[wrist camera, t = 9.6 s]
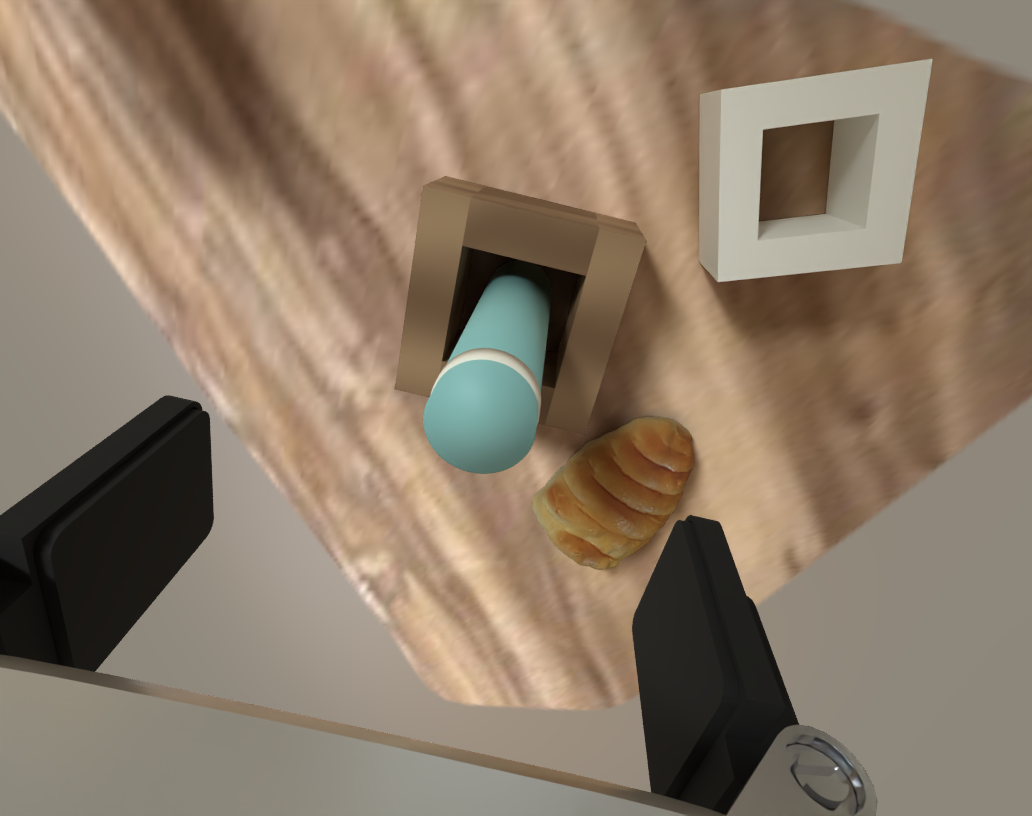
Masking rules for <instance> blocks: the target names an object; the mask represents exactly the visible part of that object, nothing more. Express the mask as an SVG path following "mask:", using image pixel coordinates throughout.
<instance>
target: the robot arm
mask: <svg viewBox="0 0 1032 816" xmlns="http://www.w3.org/2000/svg"><path fill="white" fill-rule="evenodd" d="M213 520H214V514H213V488H212V462H211V437H210V417H209V414H208V413H207V412H206V411H202V407H201V405H200V403H198V402H196V401H191V400H187V399H183V398H178V397H174V396H164V397H162V398H160V399H159V400H158V401H156V402H155V403H154V404H152V405H151V406H149V407H148V408H147V409H145V410H144V411H143V412H141V413H140V414H139V415H137V416H136V417H134V418H133V419H132V420H130V421H129V422H128V423H126V424H125V425H123V426H122V427H121V428H119V429H118V430H117V431H115V432H114V433H112V434H111V435H110V436H108V437H107V438H106V439H104V440H103V441H102V442H100V443H99V444H97V445H96V446H95V447H93V448H92V449H91V450H89V451H88V452H86V453H85V454H84V455H82V456H81V457H80V458H78V459H77V460H75V461H74V462H73V463H72V464H70V465H69V466H67V467H66V468H65V469H63V470H62V471H60V472H59V473H58V474H56V475H55V476H54V477H52V478H51V479H49V480H48V481H47V482H45V483H44V484H43V485H41V486H40V487H39V488H37V489H36V490H34V491H33V492H32V493H30V494H29V495H28V496H26V497H25V498H23V499H22V500H21V501H19V502H18V503H17V504H15V505H14V506H13V507H11V508H10V509H8V510H7V511H6V512H4V513H3V514H2V515H0V816H876V809H877V798H876V794H875V790H874V786H873V784H872V782H871V780H870V778H869V777H868V774H867V773H866V770H864V768H863V767H862V765H861V764H860V763H859V762H858V760H857V759H856V757H855V756H854V755H853V754H852V753H851V752H850V751H849V750H847V748H845V747H844V746H843V745H842V744H841V743H840V742H839V741H837V740H836V739H834V738H833V737H831V736H830V735H828V734H826V733H825V732H823V731H820V730H818V729H815V728H813V727H810V726H803V725H799V723H798V720H797V718H796V715H795V712H794V709H793V707H792V704H791V701H790V699H789V696H788V693H787V691H786V688H785V685H784V682H783V680H782V677H781V674H780V671H779V669H778V666H777V663H776V660H775V658H774V655H773V653H772V650H771V647H770V644H769V641H768V639H767V636H766V633H765V630H764V628H763V625H762V622H761V620H760V617H759V614H758V611H757V609H756V606H755V604H754V602H753V601H752V600H751V599H750V598H749V597H748V596H746V594H745V591H744V588H743V585H742V582H741V580H740V577H739V574H738V571H737V568H736V566H735V563H734V560H733V557H732V554H731V552H730V549H729V546H728V543H727V540H726V537H725V535H724V532H723V529H722V526H721V524H720V523H719V522H718V521H714V520H710V519H705V518H701V517H697V516H692V515H690V516H688V517H687V518H686V520H685V521H681V520H678V521H677V522H676V523H675V525H674V527H673V529H672V532H671V534H670V536H669V538H668V540H667V543H666V545H665V547H664V549H663V552H662V554H661V556H660V558H659V560H658V563H657V565H656V567H655V569H654V572H653V574H652V576H651V578H650V580H649V583H648V585H647V587H646V589H645V592H644V594H643V596H642V598H641V600H640V603H639V605H638V607H637V609H636V612H635V614H634V618H633V625H632V633H633V641H634V650H635V658H636V667H637V675H638V684H639V692H640V701H641V709H642V717H643V726H644V735H645V743H646V752H647V759H648V769H649V777H650V786H651V793H650V792H646V791H642V790H638V789H634V788H629V787H625V786H621V785H617V784H613V783H609V782H604V781H600V780H596V779H592V778H588V777H583V776H579V775H575V774H571V773H566V772H562V771H557V770H552V769H548V768H543V767H539V766H534V765H530V764H525V763H521V762H516V761H512V760H507V759H503V758H498V757H494V756H489V755H484V754H480V753H475V752H471V751H466V750H462V749H457V748H453V747H448V746H444V745H439V744H435V743H430V742H425V741H421V740H416V739H411V738H407V737H402V736H398V735H392V734H388V733H384V732H379V731H374V730H369V729H365V728H360V727H356V726H350V725H346V724H341V723H337V722H332V721H327V720H323V719H318V718H314V717H309V716H304V715H299V714H295V713H290V712H286V711H281V710H276V709H272V708H267V707H262V706H258V705H253V704H248V703H243V702H238V701H233V700H229V699H223V698H219V697H214V696H210V695H205V694H200V693H195V692H190V691H186V690H181V689H176V688H171V687H166V686H162V685H156V684H152V683H147V682H142V681H137V680H133V679H128V678H123V677H118V676H113V675H109V674H103V673H98V672H95V671H96V670H97V669H98V667H99V666H100V665H101V664H102V663H103V661H104V660H105V659H106V658H107V657H108V655H109V654H110V653H111V652H112V650H113V649H114V648H115V647H116V646H117V645H118V643H119V642H120V641H121V640H122V638H123V637H124V636H125V635H126V634H127V633H128V631H129V630H130V629H131V628H132V626H133V625H134V624H135V623H136V622H137V620H138V619H139V618H140V617H141V616H142V614H143V613H144V612H145V611H146V610H147V608H148V607H149V606H150V605H151V604H152V602H153V601H154V600H155V599H156V597H157V596H158V595H159V594H160V593H161V591H162V590H163V589H164V588H165V586H166V585H167V584H168V583H169V582H170V581H171V580H172V578H173V577H174V576H175V575H176V574H177V572H178V571H179V570H180V569H181V567H182V566H183V565H184V564H185V563H186V561H187V560H188V559H189V558H190V557H191V555H192V554H193V553H194V552H195V551H196V549H197V548H198V547H199V546H200V544H201V543H202V542H203V540H205V539H206V537H207V536H208V534H209V532H210V530H211V527H212V525H213Z"/></svg>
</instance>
